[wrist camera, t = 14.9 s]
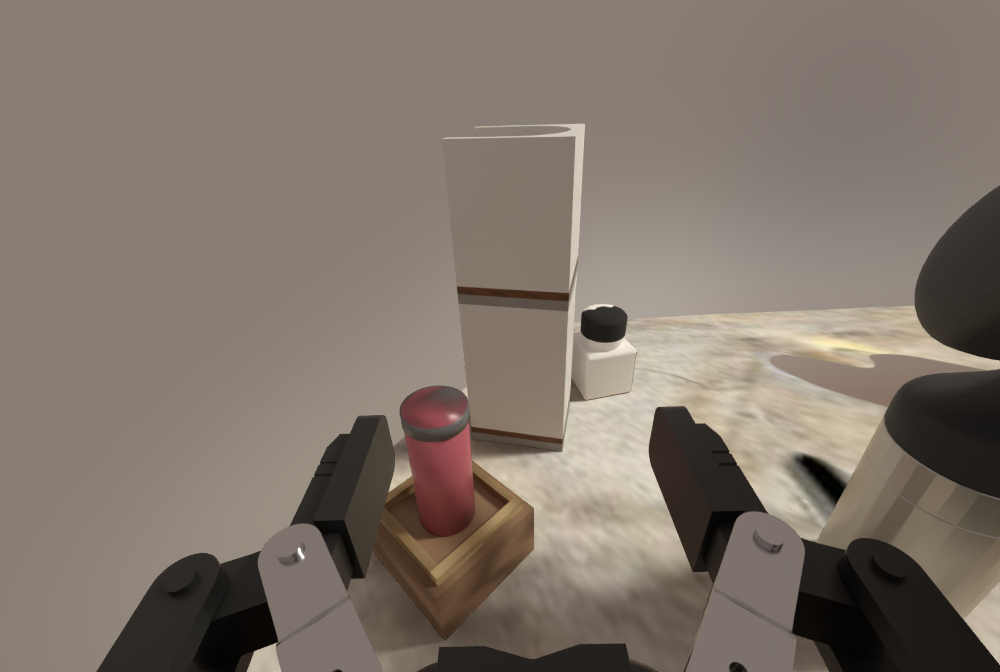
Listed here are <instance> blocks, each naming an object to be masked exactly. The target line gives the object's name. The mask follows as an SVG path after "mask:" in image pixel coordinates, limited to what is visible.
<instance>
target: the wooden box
mask: <svg viewBox="0 0 1000 672" xmlns="http://www.w3.org/2000/svg"><path fill="white" fill-rule="evenodd" d="M472 471H473V484H474V498H475V515H474V518H473V520H472V522H471V523H470V525H469V526H468V527H467V528H466V529H464V530H463V531H461V532H460V533H457V534H455V535H451V536H437V535H434V534H431V533H430V532H428V531H427V530H425V528H424V527H423V526H422V524H421V522H420V518H419V512H418V507H417V501H416V495H415V489H414V484H413V478H412V477H410V478H409V479H407V480H406V481H404V482H403V483H402V484H400V485H399V486H397V487H396V488H394V489H393V490H392V491H390V492H389V493H388V495H387V499H386V502H385V506H384V510H383V513H382V517H381V521H380V524H379V528H378V532H377V535H376V539H375V543H374V546H373V551H374V554H375V555H376V556H377V557H378V558H379V560H380V561H381V562H382V563H383V565H384V566H385V567H386V568H387V570H388V571H389V572H390V573H391V575H392V576H393V577H394V578H395V579H396V581H397V582H398V583H399V584H400V586H401V587H402V588H403V589H404V591H405V592H406V593H407V594H408V596H409V597H410V598H411V599H412V600H413V602H414V603H415V604H416V605H417V607H418V608H419V609H420V610H421V612H422V613H423V614H424V615H425V617H426V618H427V619H428V620H429V621H430V623H431V624H432V625H433V626H434V628H435V629H436V630H437V631H438V633H439V634H440V635H441V636H442V637H443V639H444V640H446V639H447V638H448V637H449V636H450V635H451V634H452V633H453V632H454V631H455V630H456V629H457V628H458V627H459V626H460V625H461V624H462V622H463V621H464V620H465V619H466V618H467V617H468V616H469V615H470V614H471V613H472V612H473V611H474V610H475V609H476V608H477V607H478V606H479V605H480V604H481V603H482V602H483V601H484V600H485V599H486V598H487V597H488V596H489V595H490V594H491V593H492V592H493V591H494V590H495V588H496V587H497V586H498V585H499V584H500V583H501V582H502V581H503V580H504V579H505V578H506V577H507V576H508V575H509V574H510V573H511V572H512V571H513V570H514V569H515V568H516V567H517V566H518V565H519V564H520V563H521V562H522V561H523V560H524V559H525V558H526V557H527V556H528V554H529V553H530V552H531V551H532V550H533V549H534V508H533V507H532V506H530V505H529V504H528V503H526V502H525V501H524V500H522V499H521V498H520V497H519V496H517V495H516V494H515V493H513V492H512V491H511V490H509V489H508V488H507V487H506V486H504V485H503V484H502V483H500V482H499V481H498V480H497V479H495V478H494V477H493V476H491V475H490V474H489V473H487V472H486V471H485V470H484V469H482V468H481V467H480V466H478V465H477V464H476V463H475V462H473V461H472Z"/></svg>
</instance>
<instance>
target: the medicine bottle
mask: <svg viewBox="0 0 1000 672" xmlns="http://www.w3.org/2000/svg"><path fill="white" fill-rule="evenodd" d="M626 324H627V314H626V313H625V312H624V311H623V310H622V309H621V308H618V307H616V306H613V305H608V304H597V305H592V306H589V307H587V308H586V309H585V310H584V311H583V312H582V316H581V332H578V333H573V351H572V370H571V379H572V380H573V382H574V383H575V385H576V386H577V388H578V390H579V391H580V393H581V394H582V396H583V397H584V399H585V400H589V399H595V398H600V397H605V396H610V395H616V394H621V393H626V392H630V391H631V388H632V381H633V374H634V367H635V360H636V350H635V349H634V348H633V347H632V346H631V345H630V343H629V342H628V341H627V340H626V339H625V333H626Z"/></svg>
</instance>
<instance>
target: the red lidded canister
mask: <svg viewBox="0 0 1000 672" xmlns="http://www.w3.org/2000/svg"><path fill="white" fill-rule="evenodd" d="M400 417H401V423H402V428H403V430H404V432H405V438H406V444H407V449H408V455H409V461H410V466H411V472H412V478H413V484H414V489H415V495H416V501H417V507H418V512H419V518H420V522H421V524H422V526H423V527H424V528H425V530H427V531H428V532H430V533H431V534H434V535H437V536H451V535H455V534H457V533H460V532H461V531H463V530H464V529H466V528H467V527H468V526H469V525H470V523H471V522H472V520H473V518H474V515H475V498H474V484H473V471H472V458H471V444H470V431H469V418H470V414H469V402H468V399H467V397H466V395H465V394H464V393H463V392H461V391H460V390H458V389H456V388H453V387H449V386H430V387H426V388H422V389H420V390H417V391H415V392H413V393H412V394H410V395H409V396H408V397H407V398H405V400H404V401H403V402H402V404H401V406H400Z"/></svg>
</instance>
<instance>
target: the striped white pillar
mask: <svg viewBox="0 0 1000 672" xmlns="http://www.w3.org/2000/svg"><path fill="white" fill-rule="evenodd" d="M584 132H585V124H561V125H525V126H524V125H523V126H522V125H521V126H484V127H483V126H482V127H474V133H475V137H455V138H454V137H453V138H443V139H442V144H443V154H444V163H445V173H446V183H447V193H448V202H449V212H450V222H451V232H452V242H453V251H454V262H455V272H456V282H457V291H458V301H459V311H460V321H461V331H462V340H463V351H464V361H465V370H466V380H467V390H468V400H469V410H470V420H471V430H472V439H478V440H485V441H492V442H499V443H506V444H513V445H520V446H527V447H534V448H541V449H548V450H555V451H562V449H563V443H564V437H565V430H566V424H567V417H568V411H569V405H570V398H571V370H572V351H573V331H574V311H575V291H576V282H577V265H578V247H579V228H580V208H581V189H582V170H583V151H584V150H583V149H584Z"/></svg>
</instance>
